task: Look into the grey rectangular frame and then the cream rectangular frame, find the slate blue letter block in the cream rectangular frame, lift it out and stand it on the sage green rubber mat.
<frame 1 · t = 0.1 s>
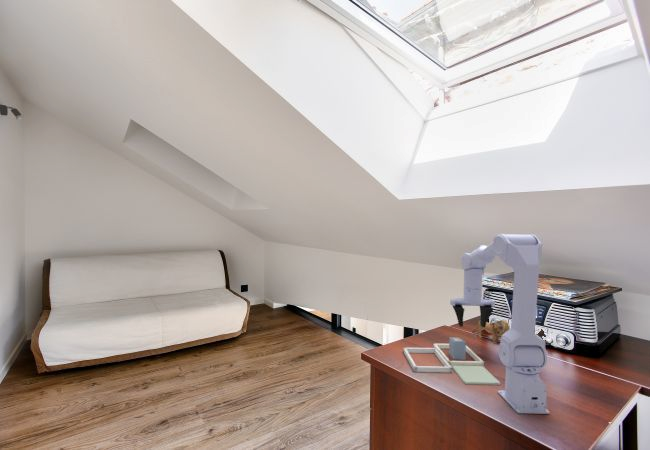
hand: (471, 326, 111), 10 cm above the cabinet, tool pointing down, fingers open, 7 cm apart
cream rectangular frame: (457, 356, 109), on the cabinet
slate block: (457, 348, 109), in the cream rectangular frame
pottery mug: (535, 342, 123), on the cabinet
lion figurine: (490, 339, 125), on the cabinet
grey rectangular frame: (425, 361, 105), on the cabinet
green mat: (474, 375, 96), on the cabinet
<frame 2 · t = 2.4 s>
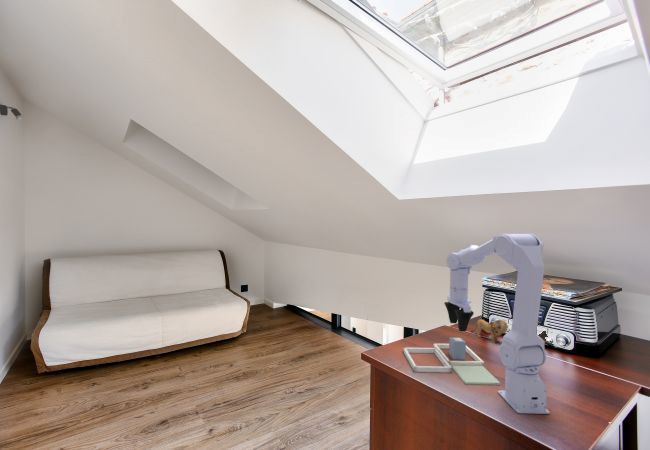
hand: (457, 326, 109), 10 cm above the cabinet, tool pointing down, fingers open, 7 cm apart
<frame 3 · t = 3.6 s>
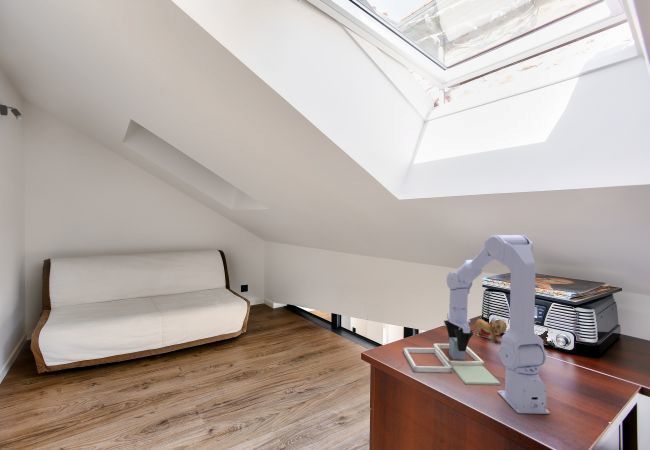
hand: (457, 346, 109), 4 cm above the cabinet, tool pointing down, fingers open, 7 cm apart
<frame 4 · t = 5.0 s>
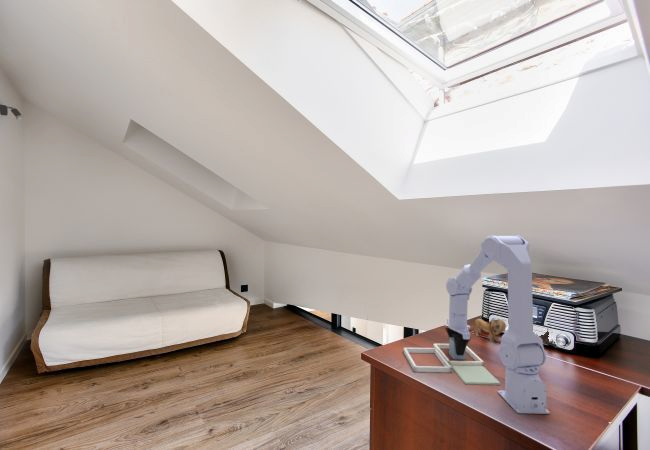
hand: (457, 352, 109), 2 cm above the cabinet, tool pointing down, fingers closed on slate block, 4 cm apart
slate block: (457, 347, 109), in the cream rectangular frame, touching gripper
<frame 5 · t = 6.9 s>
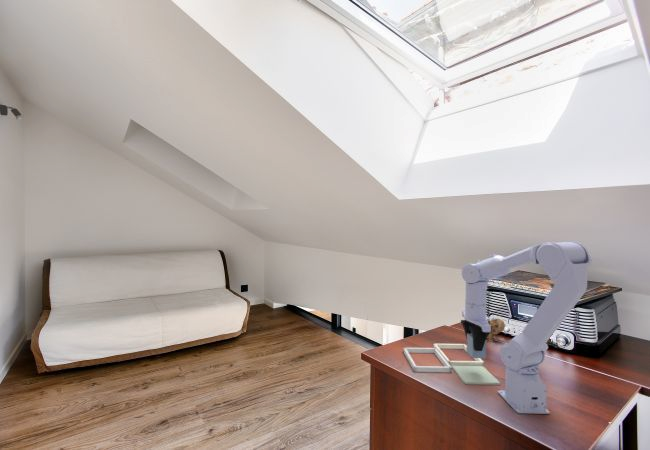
hand: (474, 347, 96), 9 cm above the cabinet, tool pointing down, fingers closed on slate block, 4 cm apart
slate block: (476, 345, 96), point 9 cm above the cabinet, touching gripper
when the fingers open (3 cm above the cabinet, at t = 8.8 s): slate block stays where it is, resting on green mat.
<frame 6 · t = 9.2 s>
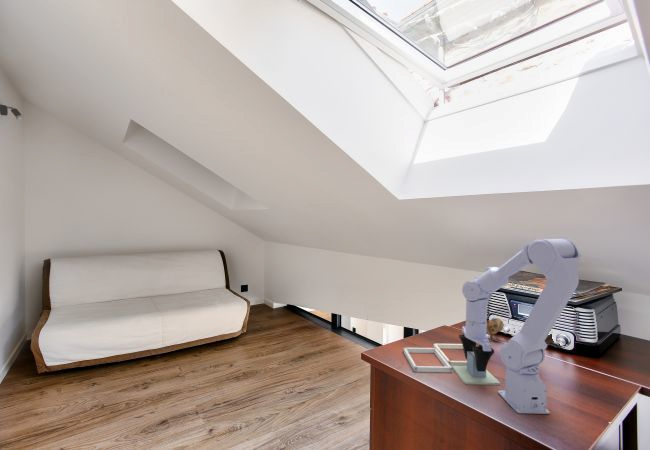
hand: (474, 364, 96), 3 cm above the cabinet, tool pointing down, fingers open, 7 cm apart
slate block: (476, 363, 96), on the green mat, point 4 cm above the cabinet
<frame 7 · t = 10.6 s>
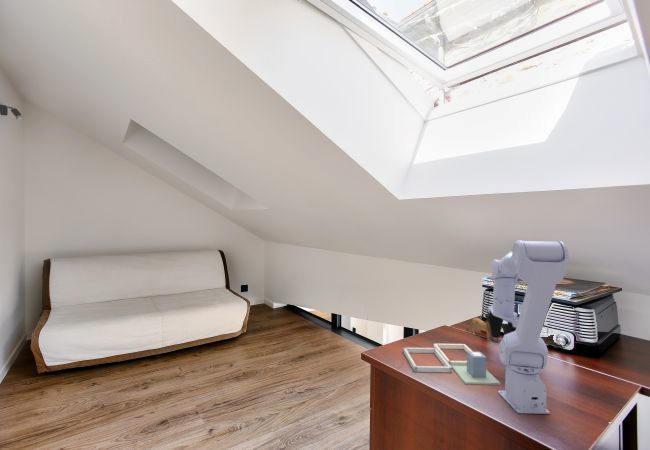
hand: (502, 342, 98), 9 cm above the cabinet, tool pointing down, fingers open, 7 cm apart
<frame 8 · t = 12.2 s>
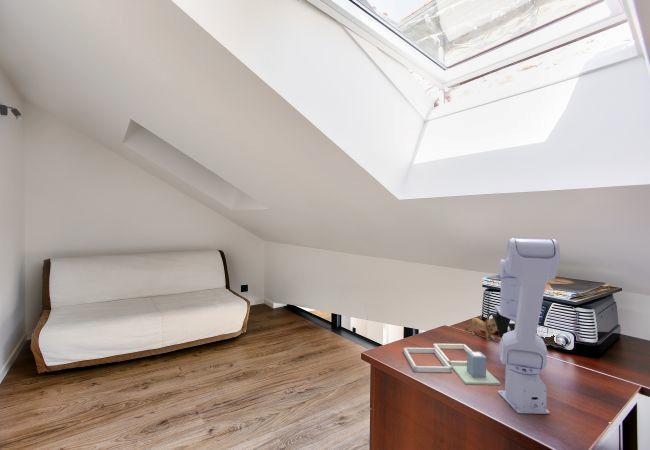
hand: (509, 341, 99), 9 cm above the cabinet, tool pointing down, fingers open, 7 cm apart
at the end: slate block 0.4 cm off-centre on the green mat, point 3.6 cm above the green mat's base; slate block tilted 0°; the gripper is holding nothing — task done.
